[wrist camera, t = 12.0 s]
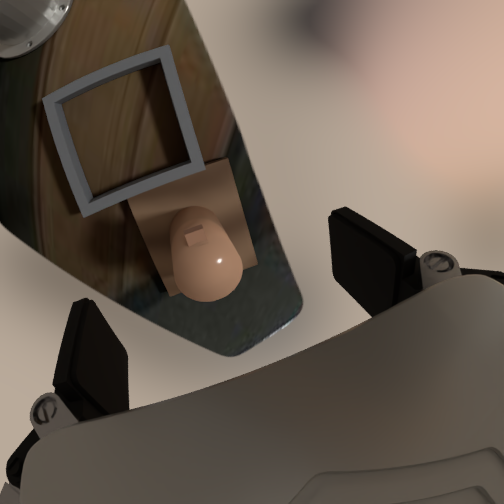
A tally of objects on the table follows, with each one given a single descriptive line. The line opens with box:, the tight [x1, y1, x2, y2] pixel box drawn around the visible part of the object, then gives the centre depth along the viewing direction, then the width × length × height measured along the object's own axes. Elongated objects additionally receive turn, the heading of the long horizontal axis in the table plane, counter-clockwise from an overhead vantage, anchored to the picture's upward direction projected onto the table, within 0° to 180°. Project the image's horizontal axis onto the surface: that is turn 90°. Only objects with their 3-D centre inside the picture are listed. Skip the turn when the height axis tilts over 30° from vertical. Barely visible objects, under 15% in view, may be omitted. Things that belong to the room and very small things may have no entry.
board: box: [127, 157, 258, 296], centre depth 34 cm, size 14×12×1 cm
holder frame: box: [42, 45, 206, 218], centre depth 27 cm, size 14×14×2 cm
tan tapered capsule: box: [169, 206, 243, 302], centre depth 30 cm, size 6×9×10 cm, turn 13°
